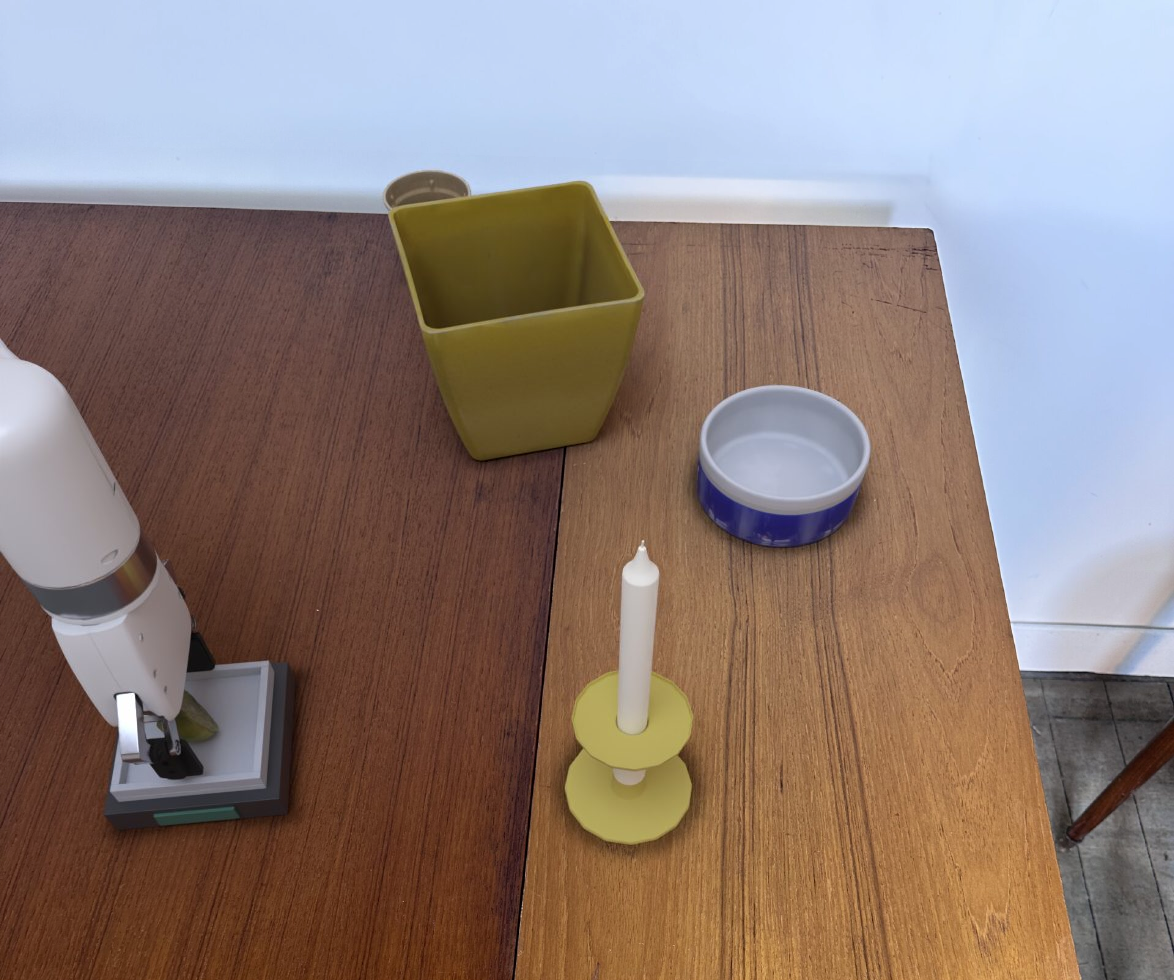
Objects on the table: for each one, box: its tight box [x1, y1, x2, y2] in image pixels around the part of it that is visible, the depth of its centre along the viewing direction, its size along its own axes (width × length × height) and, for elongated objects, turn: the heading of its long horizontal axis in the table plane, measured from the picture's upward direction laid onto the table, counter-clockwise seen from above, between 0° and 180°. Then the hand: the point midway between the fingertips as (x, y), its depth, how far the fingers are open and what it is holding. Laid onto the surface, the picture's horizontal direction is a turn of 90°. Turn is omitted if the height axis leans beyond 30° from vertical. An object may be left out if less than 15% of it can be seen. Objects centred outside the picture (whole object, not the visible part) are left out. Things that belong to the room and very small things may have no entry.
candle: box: [564, 539, 694, 846], centre depth 65 cm, size 10×10×27 cm
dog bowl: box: [696, 384, 871, 548], centre depth 90 cm, size 15×15×6 cm
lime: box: [156, 689, 219, 743], centre depth 73 cm, size 4×5×5 cm
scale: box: [103, 660, 296, 831], centre depth 76 cm, size 13×13×4 cm
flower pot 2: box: [387, 180, 645, 461], centre depth 91 cm, size 19×19×17 cm
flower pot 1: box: [382, 169, 472, 212], centre depth 107 cm, size 9×9×9 cm
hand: (189, 719), depth 74 cm, fingers open, 9 cm apart
